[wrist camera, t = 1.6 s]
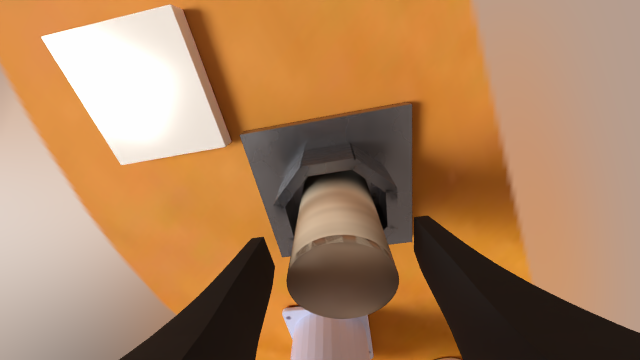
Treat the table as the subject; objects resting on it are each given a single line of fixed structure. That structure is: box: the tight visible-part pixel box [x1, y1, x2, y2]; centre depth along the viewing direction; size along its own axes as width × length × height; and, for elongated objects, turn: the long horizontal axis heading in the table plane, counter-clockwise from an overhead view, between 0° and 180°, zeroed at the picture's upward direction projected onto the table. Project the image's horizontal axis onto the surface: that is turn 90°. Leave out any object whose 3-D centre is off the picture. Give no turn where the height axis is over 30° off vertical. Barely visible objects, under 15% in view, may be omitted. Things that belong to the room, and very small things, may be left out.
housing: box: [240, 102, 412, 257], centre depth 14 cm, size 10×10×3 cm
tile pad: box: [41, 5, 232, 165], centre depth 13 cm, size 7×7×1 cm
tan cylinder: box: [287, 170, 399, 319], centre depth 12 cm, size 4×4×7 cm
